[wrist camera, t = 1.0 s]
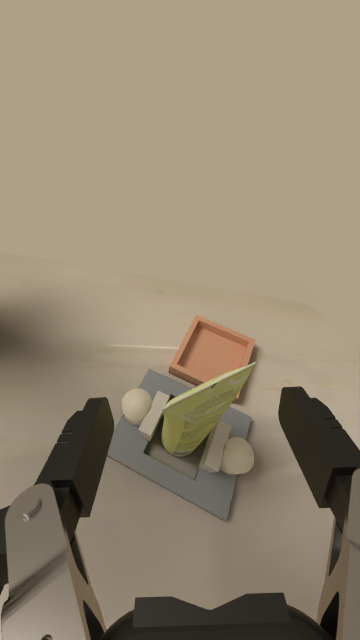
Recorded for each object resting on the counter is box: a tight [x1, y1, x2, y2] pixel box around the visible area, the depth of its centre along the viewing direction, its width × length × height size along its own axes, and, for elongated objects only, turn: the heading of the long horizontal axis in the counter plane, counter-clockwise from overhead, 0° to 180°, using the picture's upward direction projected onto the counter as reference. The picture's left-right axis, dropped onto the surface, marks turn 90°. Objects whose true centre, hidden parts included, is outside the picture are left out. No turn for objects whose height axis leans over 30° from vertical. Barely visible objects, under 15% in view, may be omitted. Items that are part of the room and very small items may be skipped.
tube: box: [161, 362, 256, 457], centre depth 23 cm, size 6×5×20 cm
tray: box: [169, 315, 255, 403], centre depth 37 cm, size 11×11×2 cm
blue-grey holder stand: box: [107, 369, 254, 521], centre depth 29 cm, size 17×12×5 cm
